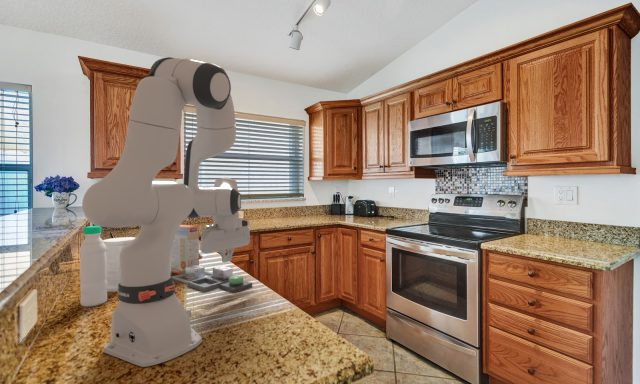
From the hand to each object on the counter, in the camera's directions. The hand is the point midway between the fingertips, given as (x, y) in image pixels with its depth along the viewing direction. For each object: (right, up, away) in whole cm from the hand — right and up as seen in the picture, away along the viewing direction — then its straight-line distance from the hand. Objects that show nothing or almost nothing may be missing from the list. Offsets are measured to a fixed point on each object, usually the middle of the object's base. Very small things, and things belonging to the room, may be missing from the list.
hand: (226, 261), depth 113 cm
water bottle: (-40, -11, -12) cm, 43 cm away
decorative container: (-42, -11, +5) cm, 43 cm away
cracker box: (-26, -11, +23) cm, 36 cm away
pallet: (-6, -10, +4) cm, 13 cm away
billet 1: (-16, -10, +12) cm, 22 cm away
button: (+4, -10, -1) cm, 10 cm away
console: (+4, -10, -1) cm, 11 cm away
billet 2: (-4, -9, +7) cm, 12 cm away
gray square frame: (-16, -10, +12) cm, 23 cm away
